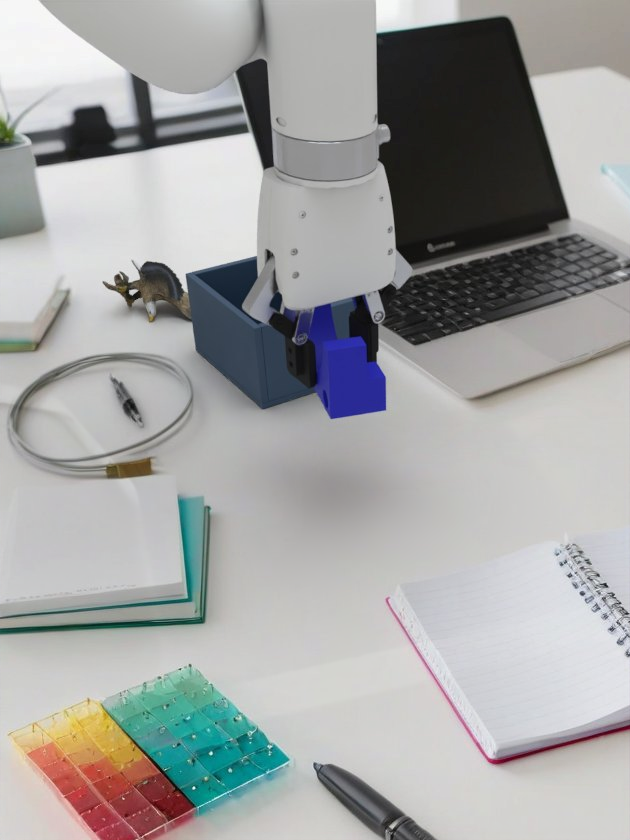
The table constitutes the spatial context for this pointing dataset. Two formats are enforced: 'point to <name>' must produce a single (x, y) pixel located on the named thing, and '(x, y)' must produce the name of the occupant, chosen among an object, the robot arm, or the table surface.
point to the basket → (246, 332)
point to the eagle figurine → (153, 288)
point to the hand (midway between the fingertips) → (333, 369)
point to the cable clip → (344, 370)
